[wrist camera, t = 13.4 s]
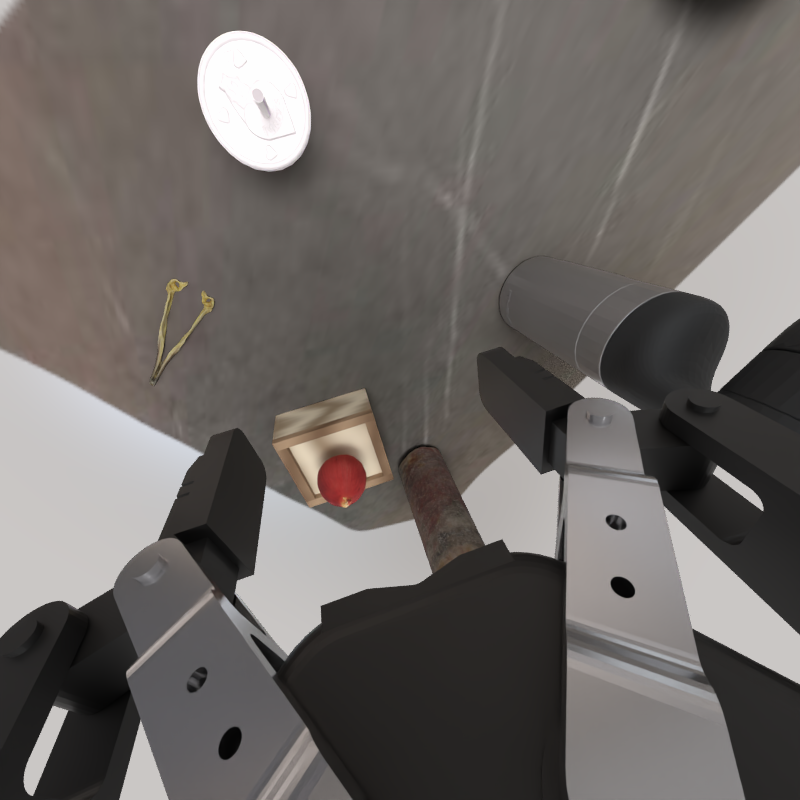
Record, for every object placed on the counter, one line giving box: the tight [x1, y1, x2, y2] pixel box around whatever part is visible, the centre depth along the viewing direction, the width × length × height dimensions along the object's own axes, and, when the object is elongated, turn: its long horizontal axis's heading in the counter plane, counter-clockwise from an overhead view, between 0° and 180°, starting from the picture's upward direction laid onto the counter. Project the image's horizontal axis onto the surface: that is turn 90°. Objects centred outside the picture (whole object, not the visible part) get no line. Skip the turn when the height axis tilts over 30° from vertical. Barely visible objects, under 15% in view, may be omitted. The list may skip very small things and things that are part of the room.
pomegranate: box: [317, 454, 367, 508], centre depth 38 cm, size 6×6×8 cm
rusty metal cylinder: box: [399, 447, 485, 573], centre depth 44 cm, size 8×7×20 cm
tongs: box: [150, 279, 214, 386], centre depth 34 cm, size 4×13×2 cm, turn 149°
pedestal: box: [272, 388, 394, 507], centre depth 43 cm, size 12×12×6 cm
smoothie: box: [198, 31, 311, 172], centre depth 22 cm, size 6×6×14 cm
